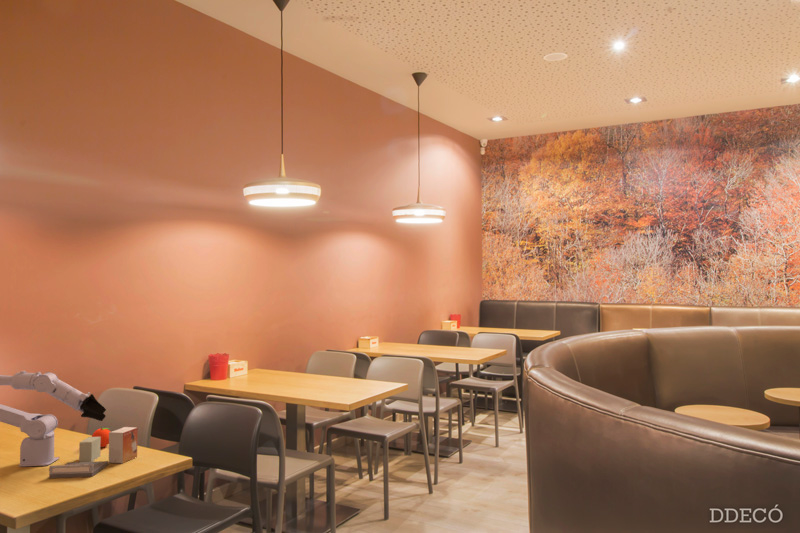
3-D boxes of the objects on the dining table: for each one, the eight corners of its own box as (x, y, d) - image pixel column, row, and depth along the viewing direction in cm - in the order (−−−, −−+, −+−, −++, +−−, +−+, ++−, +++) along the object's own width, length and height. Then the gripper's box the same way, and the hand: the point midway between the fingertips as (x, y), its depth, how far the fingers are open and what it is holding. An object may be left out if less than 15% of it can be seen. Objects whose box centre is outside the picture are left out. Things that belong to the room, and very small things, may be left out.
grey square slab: (48, 478, 176) (49, 466, 176) (68, 466, 188) (68, 455, 188) (92, 476, 177) (92, 465, 178) (108, 464, 190) (108, 453, 190)
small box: (122, 464, 190) (122, 432, 191) (108, 463, 191) (108, 432, 192) (137, 456, 198) (138, 427, 199) (124, 456, 199) (124, 426, 200)
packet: (79, 462, 192) (79, 442, 192) (88, 456, 199) (88, 437, 199) (91, 462, 192) (91, 442, 193) (100, 456, 199) (100, 436, 200)
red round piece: (111, 442, 217) (111, 424, 217) (117, 446, 212) (117, 427, 212) (88, 447, 211) (88, 428, 211) (94, 450, 206) (94, 431, 206)
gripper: (77, 379, 191) (112, 399, 193) (78, 392, 202) (111, 411, 204) (61, 396, 187) (97, 416, 188) (63, 409, 198) (97, 428, 199)
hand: (103, 415), depth 196 cm, fingers open, 7 cm apart
